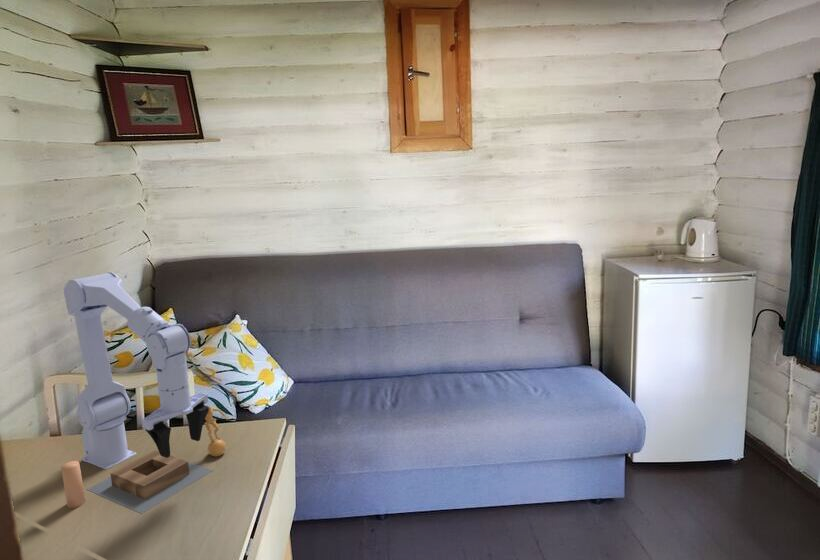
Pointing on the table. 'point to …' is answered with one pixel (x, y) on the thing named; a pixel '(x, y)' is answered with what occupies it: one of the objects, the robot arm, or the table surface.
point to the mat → (143, 505)
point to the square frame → (146, 486)
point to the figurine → (216, 445)
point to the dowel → (73, 484)
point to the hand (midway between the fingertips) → (180, 447)
